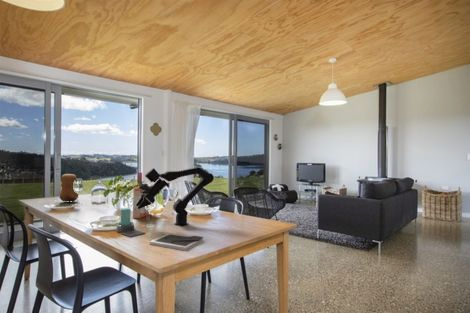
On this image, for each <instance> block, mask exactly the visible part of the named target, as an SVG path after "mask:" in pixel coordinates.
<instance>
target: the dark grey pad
mask: <svg viewBox="0 0 470 313" xmlns="http://www.w3.org/2000/svg"><path fill="white" fill-rule="evenodd" d="M120 235H122V236H125V237H127V238H133V237H137V236H142V235H146V232H145V231H141V230H138V229H134V230H132V231H124V232H120Z"/></svg>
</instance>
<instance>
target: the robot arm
mask: <svg viewBox="0 0 470 313" xmlns="http://www.w3.org/2000/svg"><path fill="white" fill-rule="evenodd" d="M192 175H198V176H199V177H200V179H199V181H198V182H197V183H196V184H195V185H194V187H192V188H191V189H190V190H189V192H188V193H187V194H186V195H185V196H184V197H183V198H177V200H175V201H174V202H173V203H174V204H173V206H172V209H173V210H174V211H175V214H176V215H175V222H174V225H175V226H178V227H179V226H180V227H183V226H186V225H189V222H188V214H189V212H188V211H187V210H186V208H187V207H188V204H189V203H190V202H191V201H192V200H193V199H194V198H195V197H196V195H198V194H199V192H200V191H201V190H203V188H204V187H206V186H208V185H209V184H211V183H213V181H214V179H215V177H214V174H212V173H209V172H207V171H206V170H203V169H202V168H201V167H199V166H195V167H193V168H187V169H183V170H174V171H173V170H167V171H165V172H164V173H159V172H158V171H157V170H156V169H155V168H154V167H153V168H151V169H150V170H149V171H147V172H146V173H145V174H144V177H145V178H146V179H147V180H148V181H149V182H150V183H153V185H149V184H147V183H141V182H140V184H139V185H138V187H139V189H142V190H143V191H142V192H141V193H142V194H141V198H140V200H139V201H138V203H137V204H136V206H138V209H140V208H143V207H145V206H148V205H150V206H151V205H153V204H154V203H155V201H156V198H155V197H156V196H157V195H159V194H160V192H161V191H162V190H163V189H164V188H166V187H167V188H169V189H170V182H173V181H175V180H177V179H179V178H182V177H186V176H192ZM149 186H150V187H149Z"/></svg>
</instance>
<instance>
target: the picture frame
mask: <svg viewBox="0 0 470 313" xmlns="http://www.w3.org/2000/svg"><path fill="white" fill-rule="evenodd" d="M202 242H204V236H199V235H198V236H197V235H191V236H189V235H184V234H182V235H181V234H177V233H176V234H175V233H169V232H168V233H167V234H164V235H163V236H160V237H157V238H154V239H152V240H150V241H149V245H151V246H157V247H162V248H169V249H173V250H180V251H183V252H184V251H185V252H187V251H188V250H190V249H191V248H193V247H196V246H197V245H199V244H200V243H202Z"/></svg>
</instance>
